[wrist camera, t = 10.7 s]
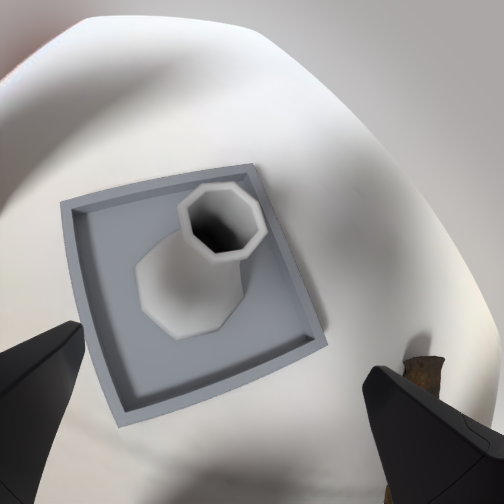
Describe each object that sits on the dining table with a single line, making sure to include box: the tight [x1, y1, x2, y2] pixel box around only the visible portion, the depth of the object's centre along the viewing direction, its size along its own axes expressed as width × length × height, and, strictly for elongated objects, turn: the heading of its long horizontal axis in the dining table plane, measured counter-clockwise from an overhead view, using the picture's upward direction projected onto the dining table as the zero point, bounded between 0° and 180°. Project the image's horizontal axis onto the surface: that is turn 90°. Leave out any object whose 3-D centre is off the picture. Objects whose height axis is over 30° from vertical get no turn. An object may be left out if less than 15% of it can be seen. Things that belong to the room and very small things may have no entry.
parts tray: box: [60, 163, 328, 428], centre depth 19 cm, size 15×15×2 cm
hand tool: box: [384, 356, 445, 504], centre depth 19 cm, size 19×4×5 cm, turn 170°
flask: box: [133, 181, 268, 341], centre depth 15 cm, size 7×7×10 cm
